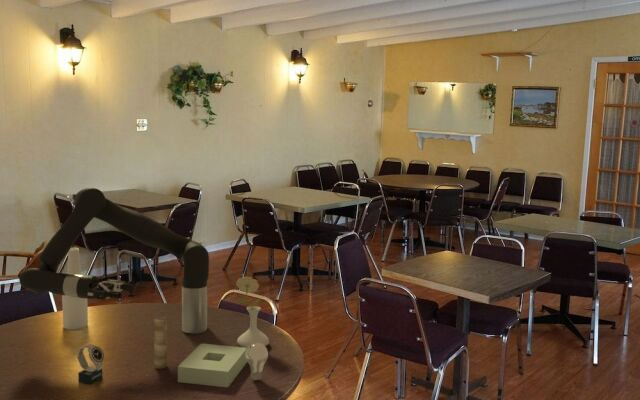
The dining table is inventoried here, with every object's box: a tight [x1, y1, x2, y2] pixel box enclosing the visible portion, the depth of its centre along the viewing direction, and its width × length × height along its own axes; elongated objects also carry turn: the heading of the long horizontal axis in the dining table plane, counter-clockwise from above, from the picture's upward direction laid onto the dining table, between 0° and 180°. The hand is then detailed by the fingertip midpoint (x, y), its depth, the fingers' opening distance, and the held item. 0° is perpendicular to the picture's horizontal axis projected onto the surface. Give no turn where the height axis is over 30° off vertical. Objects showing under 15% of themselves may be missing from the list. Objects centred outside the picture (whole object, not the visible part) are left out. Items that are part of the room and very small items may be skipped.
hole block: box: [177, 343, 248, 388], centre depth 207 cm, size 20×16×5 cm
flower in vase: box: [235, 275, 270, 348], centre depth 229 cm, size 13×11×25 cm
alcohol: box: [61, 247, 89, 331], centre depth 243 cm, size 9×9×30 cm
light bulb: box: [246, 343, 269, 382], centre depth 201 cm, size 7×7×12 cm
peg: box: [153, 316, 168, 370], centre depth 209 cm, size 4×4×16 cm
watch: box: [77, 343, 105, 386], centre depth 198 cm, size 6×8×11 cm
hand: (128, 291), depth 209 cm, fingers open, 8 cm apart
